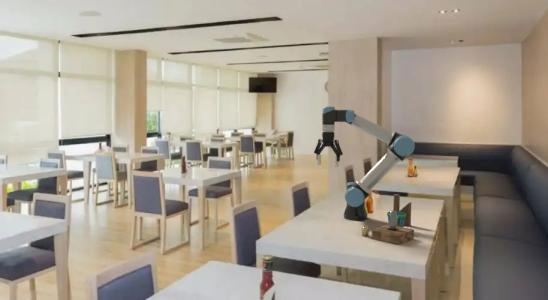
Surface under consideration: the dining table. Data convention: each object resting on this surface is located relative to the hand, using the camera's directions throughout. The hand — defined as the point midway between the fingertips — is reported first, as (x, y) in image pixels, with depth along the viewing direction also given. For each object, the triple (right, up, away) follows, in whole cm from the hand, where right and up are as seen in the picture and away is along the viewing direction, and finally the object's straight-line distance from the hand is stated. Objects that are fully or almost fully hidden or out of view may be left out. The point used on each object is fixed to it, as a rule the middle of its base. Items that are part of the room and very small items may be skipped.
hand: (327, 165), depth 278 cm
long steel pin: (+30, -38, -38) cm, 62 cm away
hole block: (+30, -38, -38) cm, 62 cm away
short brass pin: (+17, -37, -32) cm, 52 cm away
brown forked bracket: (+44, -36, -6) cm, 57 cm away
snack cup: (+37, -37, -21) cm, 56 cm away
